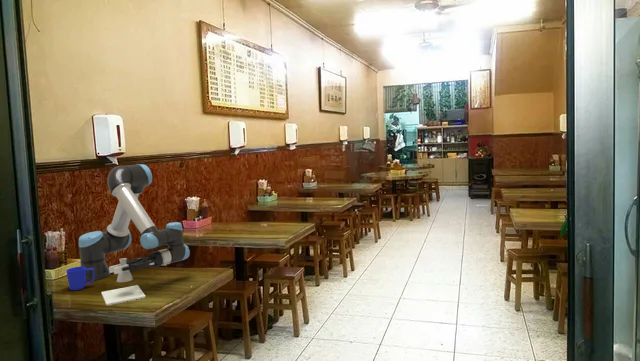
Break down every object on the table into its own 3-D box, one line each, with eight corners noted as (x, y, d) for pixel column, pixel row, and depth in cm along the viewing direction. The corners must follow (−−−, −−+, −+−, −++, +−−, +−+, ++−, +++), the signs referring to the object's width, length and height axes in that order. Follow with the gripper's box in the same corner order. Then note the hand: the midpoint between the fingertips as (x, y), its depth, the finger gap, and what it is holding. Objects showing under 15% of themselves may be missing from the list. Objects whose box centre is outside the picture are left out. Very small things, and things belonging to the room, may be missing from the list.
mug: (94, 288, 222) (92, 268, 221) (66, 292, 218) (64, 272, 217) (97, 284, 230) (95, 264, 229) (70, 287, 226) (68, 267, 225)
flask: (114, 283, 204) (112, 261, 203) (118, 279, 211) (116, 257, 210) (131, 281, 206) (129, 260, 205) (134, 277, 213) (133, 256, 212)
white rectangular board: (101, 293, 214) (101, 292, 214) (137, 286, 222) (137, 285, 222) (106, 305, 197) (106, 304, 197) (145, 297, 205) (145, 296, 205)
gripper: (169, 268, 217) (122, 281, 199) (150, 263, 227) (103, 276, 209) (168, 252, 216) (120, 264, 198) (149, 248, 227) (102, 260, 208)
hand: (112, 270), depth 204 cm, fingers closed on flask, 3 cm apart
